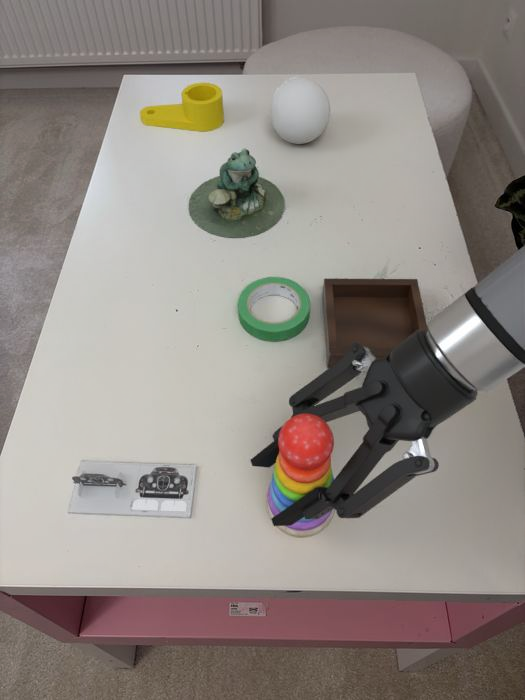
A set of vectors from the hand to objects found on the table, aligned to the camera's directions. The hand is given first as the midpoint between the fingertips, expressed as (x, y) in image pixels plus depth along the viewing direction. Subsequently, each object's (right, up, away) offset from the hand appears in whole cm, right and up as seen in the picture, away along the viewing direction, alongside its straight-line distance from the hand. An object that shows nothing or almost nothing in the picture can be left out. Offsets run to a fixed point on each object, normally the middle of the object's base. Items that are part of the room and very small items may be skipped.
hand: (270, 491), depth 54 cm
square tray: (+16, +18, +25) cm, 35 cm away
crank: (-18, +65, +59) cm, 89 cm away
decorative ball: (+7, +59, +54) cm, 80 cm away
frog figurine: (-6, +42, +42) cm, 60 cm away
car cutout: (-17, -3, +11) cm, 20 cm away
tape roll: (+1, +20, +27) cm, 34 cm away
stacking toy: (+4, -3, +6) cm, 8 cm away
